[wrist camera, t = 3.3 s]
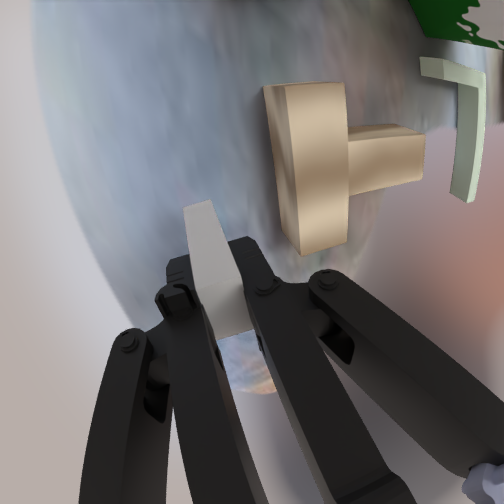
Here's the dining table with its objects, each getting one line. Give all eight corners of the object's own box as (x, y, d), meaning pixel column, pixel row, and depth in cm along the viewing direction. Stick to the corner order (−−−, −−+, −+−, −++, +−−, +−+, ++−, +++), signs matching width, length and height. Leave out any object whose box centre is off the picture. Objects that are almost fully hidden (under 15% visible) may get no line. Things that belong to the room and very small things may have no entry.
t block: (262, 86, 16) (284, 86, 13) (392, 82, 18) (425, 87, 15) (281, 230, 23) (300, 256, 20) (390, 200, 25) (416, 219, 22)
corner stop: (419, 56, 17) (442, 58, 14) (465, 69, 18) (485, 73, 15) (415, 202, 26) (433, 215, 24) (457, 190, 27) (474, 200, 25)
